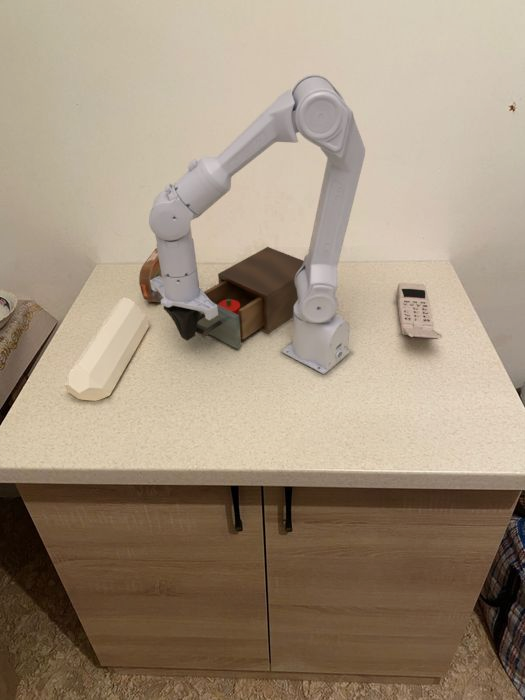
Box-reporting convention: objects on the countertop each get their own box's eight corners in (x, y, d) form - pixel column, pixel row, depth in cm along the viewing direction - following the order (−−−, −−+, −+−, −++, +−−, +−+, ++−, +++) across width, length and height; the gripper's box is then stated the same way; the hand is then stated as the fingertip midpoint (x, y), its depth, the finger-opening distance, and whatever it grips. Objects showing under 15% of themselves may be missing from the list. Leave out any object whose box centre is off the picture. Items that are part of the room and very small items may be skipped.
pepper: (245, 321, 96) (244, 299, 93) (230, 331, 94) (228, 308, 90) (230, 313, 98) (228, 291, 95) (214, 322, 96) (212, 300, 93)
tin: (155, 310, 103) (149, 274, 98) (141, 308, 104) (134, 272, 99) (179, 273, 115) (175, 239, 110) (166, 272, 115) (161, 238, 110)
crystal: (104, 302, 98) (44, 385, 80) (131, 289, 95) (75, 371, 77) (128, 330, 102) (76, 415, 84) (155, 318, 99) (107, 403, 80)
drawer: (217, 361, 88) (214, 330, 84) (175, 336, 94) (170, 306, 90) (284, 316, 99) (284, 286, 95) (242, 296, 105) (240, 267, 101)
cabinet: (267, 334, 96) (266, 296, 90) (221, 310, 102) (217, 273, 97) (314, 302, 104) (315, 265, 99) (268, 282, 111) (267, 246, 106)
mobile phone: (407, 335, 85) (398, 262, 104) (401, 362, 89) (394, 287, 108) (444, 338, 84) (428, 264, 103) (436, 365, 88) (423, 289, 107)
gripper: (130, 264, 82) (144, 331, 90) (190, 294, 74) (200, 365, 82) (164, 248, 86) (174, 314, 94) (224, 275, 78) (230, 344, 86)
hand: (188, 336), depth 88 cm, fingers closed, pressing on drawer
